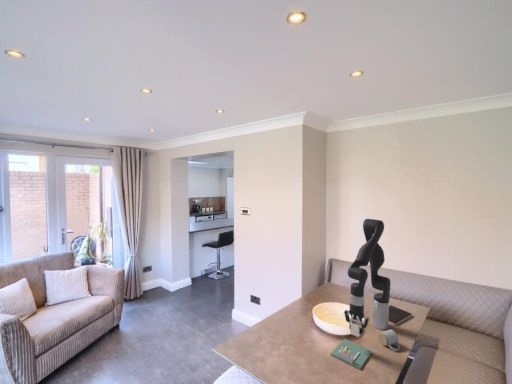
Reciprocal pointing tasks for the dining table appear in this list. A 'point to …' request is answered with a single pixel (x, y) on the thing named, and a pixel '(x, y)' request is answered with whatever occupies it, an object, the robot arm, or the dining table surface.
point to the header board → (351, 353)
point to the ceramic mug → (389, 339)
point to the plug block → (355, 328)
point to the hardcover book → (397, 315)
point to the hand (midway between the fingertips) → (356, 331)
